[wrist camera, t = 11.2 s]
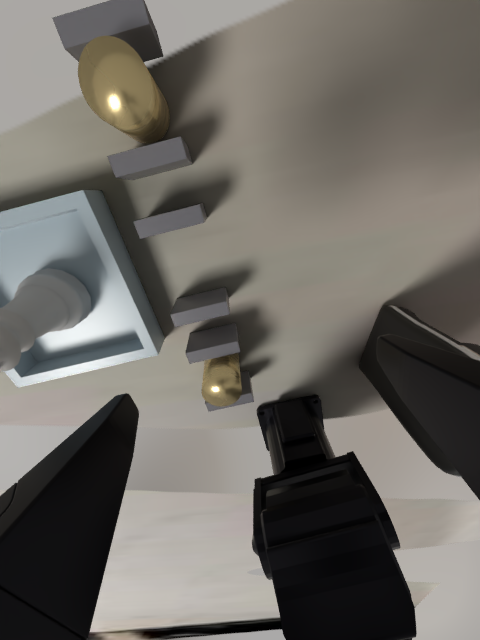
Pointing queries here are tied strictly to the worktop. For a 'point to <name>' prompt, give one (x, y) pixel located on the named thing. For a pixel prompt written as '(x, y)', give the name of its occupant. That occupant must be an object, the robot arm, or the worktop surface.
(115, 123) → the brass peg
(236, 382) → the brass peg
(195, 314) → the grey small pieces
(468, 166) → the worktop surface
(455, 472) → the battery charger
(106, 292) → the tray
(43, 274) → the rook chess piece
